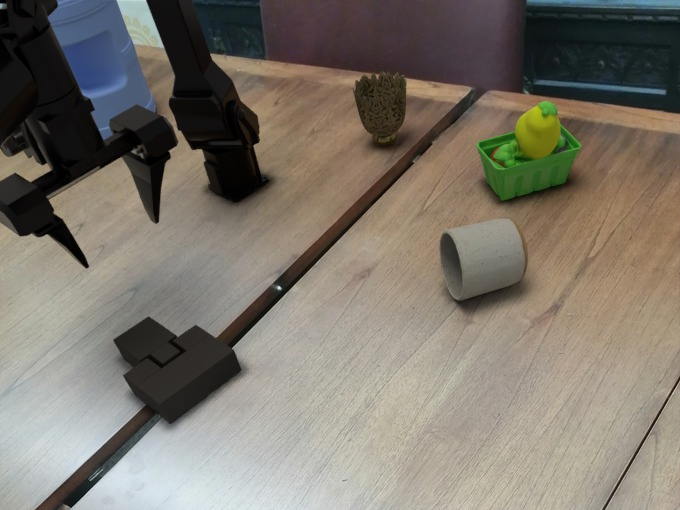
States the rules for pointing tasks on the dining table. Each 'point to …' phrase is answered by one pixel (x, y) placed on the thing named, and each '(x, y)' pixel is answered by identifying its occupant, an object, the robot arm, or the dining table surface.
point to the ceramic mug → (482, 257)
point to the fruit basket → (529, 154)
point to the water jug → (101, 57)
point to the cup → (381, 105)
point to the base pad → (184, 374)
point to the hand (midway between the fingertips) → (121, 243)
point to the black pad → (147, 343)
